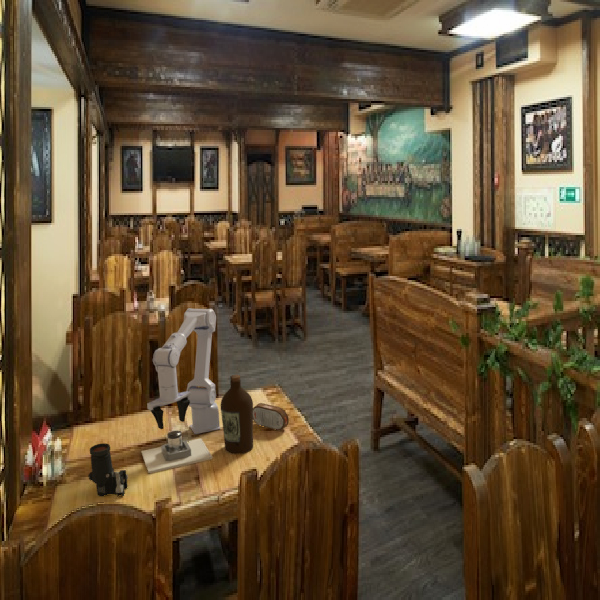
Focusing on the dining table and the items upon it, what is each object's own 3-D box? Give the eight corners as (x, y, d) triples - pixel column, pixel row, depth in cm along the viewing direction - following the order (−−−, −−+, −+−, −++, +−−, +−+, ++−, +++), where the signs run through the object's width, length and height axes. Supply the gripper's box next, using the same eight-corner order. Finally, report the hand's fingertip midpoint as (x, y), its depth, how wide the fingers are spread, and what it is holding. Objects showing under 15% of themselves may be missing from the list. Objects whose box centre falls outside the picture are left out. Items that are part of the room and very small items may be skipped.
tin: (289, 430, 187) (288, 408, 185) (284, 433, 184) (283, 411, 183) (256, 422, 195) (255, 400, 193) (250, 425, 192) (249, 403, 191)
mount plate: (201, 440, 181) (200, 432, 180) (212, 458, 167) (211, 450, 167) (141, 453, 173) (140, 444, 172) (148, 473, 159) (147, 464, 159)
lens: (177, 449, 173) (176, 429, 172) (186, 453, 170) (184, 432, 169) (166, 454, 170) (164, 434, 168) (174, 458, 167) (172, 437, 166)
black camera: (117, 453, 143) (80, 455, 143) (122, 499, 146) (85, 501, 145) (125, 439, 151) (90, 442, 151) (129, 483, 154) (95, 486, 153)
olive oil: (235, 438, 182) (231, 369, 177) (261, 444, 176) (257, 373, 172) (216, 451, 172) (212, 379, 168) (243, 457, 167) (238, 383, 163)
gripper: (181, 376, 175) (184, 414, 177) (141, 387, 165) (145, 427, 168) (192, 381, 170) (195, 420, 172) (151, 393, 160) (155, 434, 162)
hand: (171, 424), depth 170 cm, fingers open, 7 cm apart
